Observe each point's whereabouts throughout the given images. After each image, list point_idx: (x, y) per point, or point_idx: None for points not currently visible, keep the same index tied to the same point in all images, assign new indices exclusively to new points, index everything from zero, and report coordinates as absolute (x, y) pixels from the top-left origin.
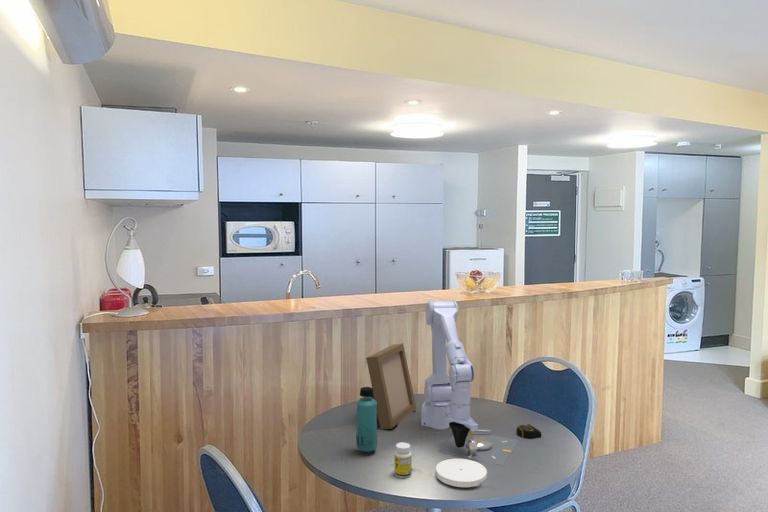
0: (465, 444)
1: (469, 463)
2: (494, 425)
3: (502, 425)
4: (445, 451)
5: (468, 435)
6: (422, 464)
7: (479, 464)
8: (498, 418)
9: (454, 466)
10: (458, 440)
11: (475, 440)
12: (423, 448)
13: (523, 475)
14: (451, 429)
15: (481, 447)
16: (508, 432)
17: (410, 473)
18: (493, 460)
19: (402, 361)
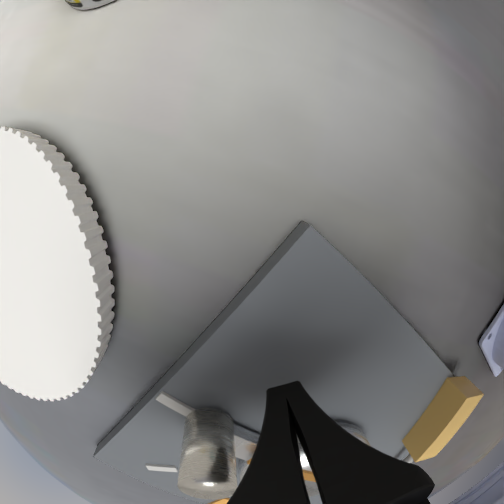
0: (344, 417)
1: (45, 358)
2: (427, 468)
3: None
4: (292, 289)
5: (412, 429)
6: (183, 73)
7: (45, 393)
8: (446, 468)
9: (7, 256)
10: (261, 431)
11: (209, 497)
12: (416, 170)
13: (71, 460)
14: (374, 452)
15: (240, 472)
16: None
17: (69, 3)
18: (135, 457)
19: None
